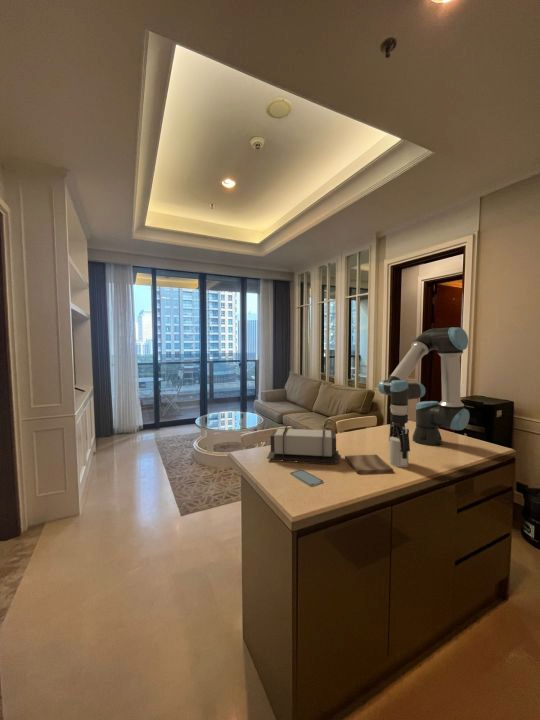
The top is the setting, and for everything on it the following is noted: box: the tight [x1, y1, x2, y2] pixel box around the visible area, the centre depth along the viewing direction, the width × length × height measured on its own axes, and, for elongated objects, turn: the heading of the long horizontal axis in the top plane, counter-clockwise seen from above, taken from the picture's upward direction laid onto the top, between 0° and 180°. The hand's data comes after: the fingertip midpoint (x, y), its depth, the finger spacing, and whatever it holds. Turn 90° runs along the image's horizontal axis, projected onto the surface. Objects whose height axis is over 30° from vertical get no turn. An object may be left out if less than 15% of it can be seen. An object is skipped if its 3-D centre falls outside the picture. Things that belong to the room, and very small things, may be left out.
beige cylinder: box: [389, 436, 409, 468], centre depth 143 cm, size 8×8×12 cm
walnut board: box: [344, 454, 394, 475], centre depth 142 cm, size 16×18×2 cm
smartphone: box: [289, 469, 324, 487], centre depth 130 cm, size 7×1×15 cm
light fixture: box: [266, 425, 341, 465], centre depth 153 cm, size 15×15×35 cm
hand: (398, 461), depth 143 cm, fingers closed on beige cylinder, 8 cm apart
